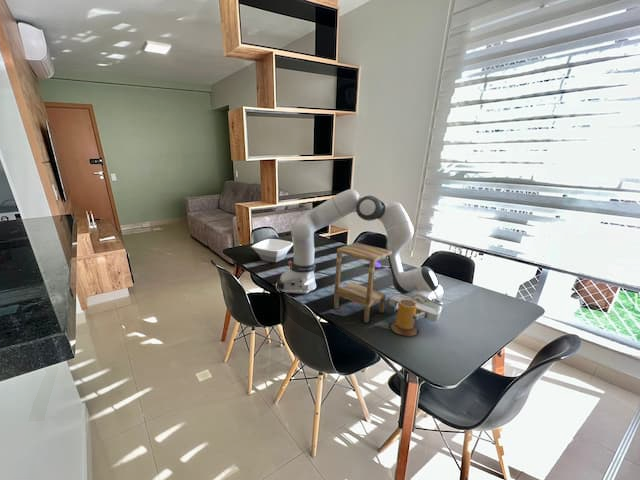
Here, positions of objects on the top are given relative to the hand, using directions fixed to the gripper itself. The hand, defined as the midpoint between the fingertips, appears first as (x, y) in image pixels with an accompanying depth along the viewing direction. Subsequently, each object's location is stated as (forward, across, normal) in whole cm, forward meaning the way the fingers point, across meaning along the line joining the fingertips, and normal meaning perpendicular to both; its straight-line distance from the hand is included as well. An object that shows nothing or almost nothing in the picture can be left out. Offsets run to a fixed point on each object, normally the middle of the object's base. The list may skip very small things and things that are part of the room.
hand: (405, 313), depth 116 cm
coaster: (-1, 0, +8) cm, 8 cm away
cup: (-1, 0, +6) cm, 6 cm away
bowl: (-19, -105, +8) cm, 107 cm away
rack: (-1, -22, +8) cm, 23 cm away
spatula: (-56, -39, +8) cm, 69 cm away
